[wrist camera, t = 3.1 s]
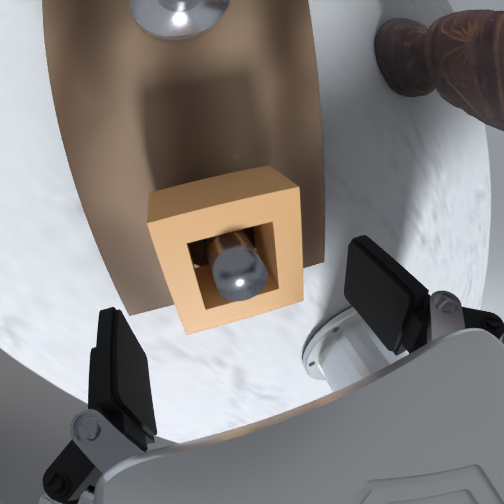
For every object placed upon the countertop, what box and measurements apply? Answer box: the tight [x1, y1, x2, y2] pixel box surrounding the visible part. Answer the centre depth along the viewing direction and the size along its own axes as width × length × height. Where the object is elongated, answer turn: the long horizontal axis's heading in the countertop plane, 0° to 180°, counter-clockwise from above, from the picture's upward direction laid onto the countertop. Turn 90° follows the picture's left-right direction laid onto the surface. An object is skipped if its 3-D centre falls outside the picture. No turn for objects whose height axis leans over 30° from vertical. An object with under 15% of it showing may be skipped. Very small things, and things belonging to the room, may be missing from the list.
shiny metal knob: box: [188, 226, 268, 301], centre depth 16 cm, size 5×5×7 cm
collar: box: [147, 165, 303, 335], centre depth 16 cm, size 7×7×4 cm
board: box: [42, 0, 325, 316], centre depth 16 cm, size 16×26×2 cm, turn 7°
